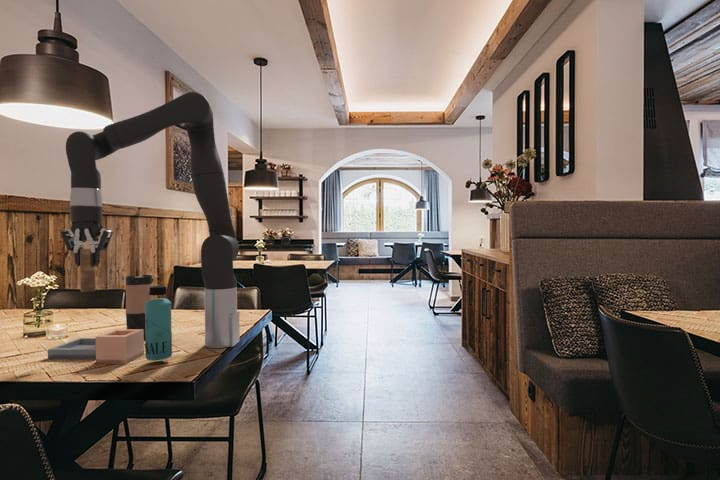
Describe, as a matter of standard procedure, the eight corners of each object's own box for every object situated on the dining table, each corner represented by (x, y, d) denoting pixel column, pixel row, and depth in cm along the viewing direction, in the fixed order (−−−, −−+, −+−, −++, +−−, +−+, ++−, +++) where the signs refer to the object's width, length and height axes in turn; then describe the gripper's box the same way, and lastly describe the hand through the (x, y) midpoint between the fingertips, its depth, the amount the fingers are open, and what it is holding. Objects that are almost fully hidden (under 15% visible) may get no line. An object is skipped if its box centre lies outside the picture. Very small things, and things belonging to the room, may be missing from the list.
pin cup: (144, 354, 111) (143, 329, 111) (126, 363, 103) (126, 336, 103) (115, 354, 111) (115, 329, 111) (96, 363, 103) (95, 336, 103)
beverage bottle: (165, 357, 109) (164, 283, 108) (177, 362, 104) (176, 285, 104) (140, 363, 104) (139, 286, 103) (151, 368, 99) (150, 288, 99)
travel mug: (141, 342, 124) (140, 277, 124) (120, 340, 125) (119, 277, 125) (158, 335, 131) (157, 275, 131) (138, 334, 133) (137, 274, 133)
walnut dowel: (98, 290, 115) (97, 248, 115) (89, 291, 111) (89, 248, 111) (86, 290, 115) (85, 248, 115) (77, 291, 112) (76, 249, 111)
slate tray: (126, 346, 119) (126, 337, 119) (98, 358, 107) (98, 349, 107) (80, 346, 120) (80, 337, 120) (47, 358, 108) (47, 349, 108)
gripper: (119, 205, 116) (120, 265, 117) (71, 206, 117) (72, 265, 117) (102, 204, 109) (103, 267, 109) (51, 204, 109) (52, 267, 110)
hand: (87, 265), depth 113 cm, fingers closed on walnut dowel, 3 cm apart
